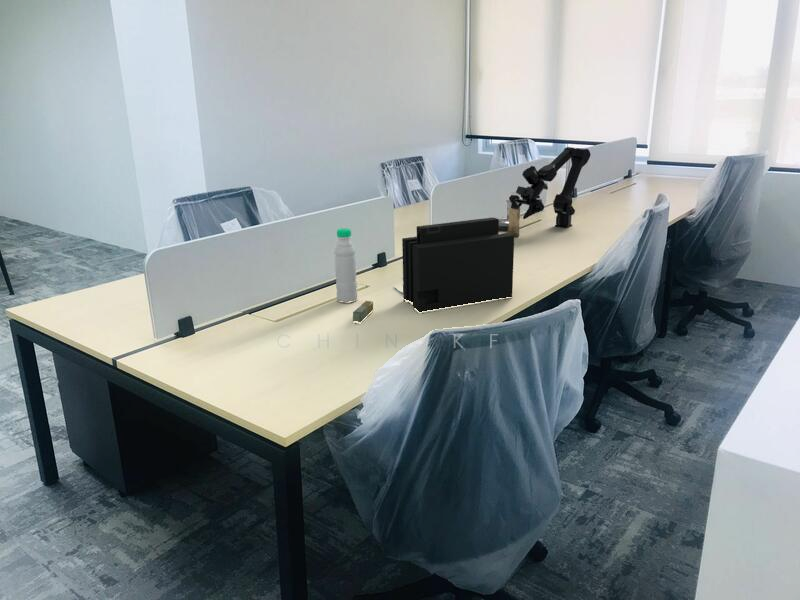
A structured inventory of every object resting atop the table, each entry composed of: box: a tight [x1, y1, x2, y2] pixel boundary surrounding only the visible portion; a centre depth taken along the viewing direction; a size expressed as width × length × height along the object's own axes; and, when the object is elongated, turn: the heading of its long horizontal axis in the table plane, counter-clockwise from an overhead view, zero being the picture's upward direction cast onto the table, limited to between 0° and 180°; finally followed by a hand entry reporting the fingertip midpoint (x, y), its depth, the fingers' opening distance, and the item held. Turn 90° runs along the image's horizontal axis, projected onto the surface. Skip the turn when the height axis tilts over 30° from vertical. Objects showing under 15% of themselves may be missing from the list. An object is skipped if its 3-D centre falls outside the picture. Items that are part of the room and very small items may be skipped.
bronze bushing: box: [507, 208, 521, 238], centre depth 312 cm, size 5×5×13 cm
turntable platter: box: [498, 218, 509, 227], centre depth 329 cm, size 13×13×1 cm
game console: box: [401, 216, 515, 312], centre depth 231 cm, size 35×30×27 cm
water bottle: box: [333, 227, 358, 302], centre depth 226 cm, size 7×7×25 cm
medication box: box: [352, 300, 374, 322], centre depth 213 cm, size 12×3×4 cm, turn 163°
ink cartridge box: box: [506, 191, 521, 219], centre depth 344 cm, size 9×5×15 cm, turn 84°
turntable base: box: [498, 227, 508, 231], centre depth 330 cm, size 10×10×2 cm
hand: (516, 217), depth 311 cm, fingers open, 9 cm apart
